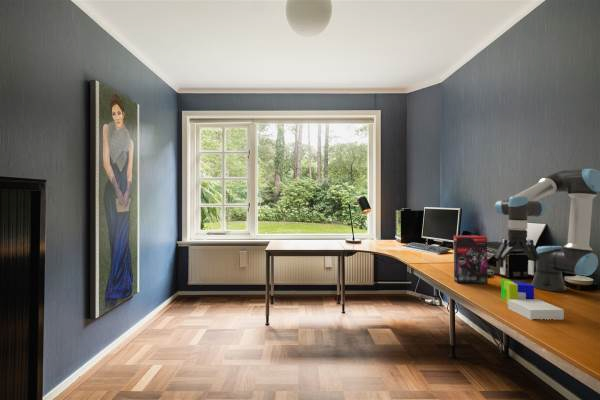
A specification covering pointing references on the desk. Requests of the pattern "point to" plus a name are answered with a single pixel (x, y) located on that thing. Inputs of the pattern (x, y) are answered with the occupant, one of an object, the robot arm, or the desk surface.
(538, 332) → the desk surface
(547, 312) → the plinth
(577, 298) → the desk surface
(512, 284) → the puzzle toy
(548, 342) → the desk surface
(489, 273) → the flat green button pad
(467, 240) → the graphics card box
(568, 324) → the desk surface
